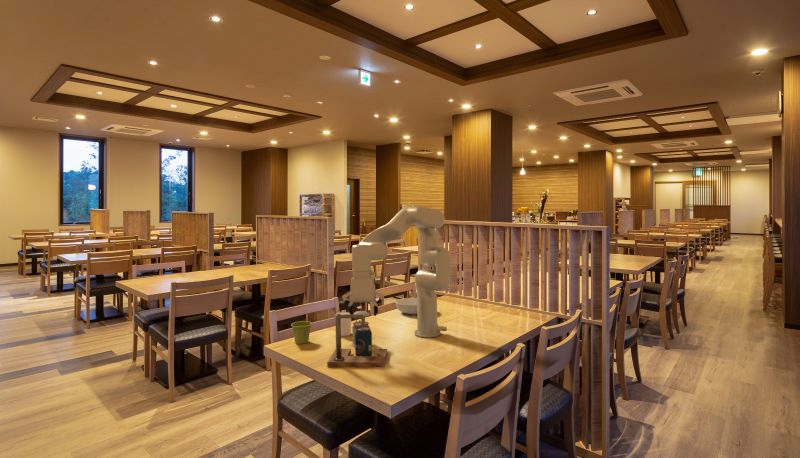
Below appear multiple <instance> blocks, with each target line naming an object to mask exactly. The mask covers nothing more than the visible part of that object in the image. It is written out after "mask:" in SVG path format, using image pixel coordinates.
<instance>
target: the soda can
mask: <svg viewBox="0 0 800 458" xmlns="http://www.w3.org/2000/svg"><path fill="white" fill-rule="evenodd" d="M354 350H355V351H354V353H355V355H354V356H373V332H372V329H371V327H370V328H369V327H358V328H356V332H355V348H354Z"/></svg>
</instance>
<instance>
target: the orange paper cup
mask: <svg viewBox="0 0 800 458" xmlns="http://www.w3.org/2000/svg"><path fill="white" fill-rule="evenodd" d="M335 314H340V315H351V314H349V312H347V311H340V312H337V313H335ZM351 328H352V318H341V337H347V336H350V335H351V333H352V332H351V331H352V329H351Z"/></svg>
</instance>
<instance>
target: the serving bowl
mask: <svg viewBox="0 0 800 458" xmlns="http://www.w3.org/2000/svg"><path fill="white" fill-rule="evenodd" d="M395 307H396V308H397V310H398V311H399V312H400V313H404V314H407V315H414V316H415V315H416V316H417V297H403V298H400V299H399V298H398V299H397V300H395Z"/></svg>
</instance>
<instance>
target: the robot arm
mask: <svg viewBox="0 0 800 458" xmlns="http://www.w3.org/2000/svg"><path fill="white" fill-rule="evenodd" d="M445 220H446V218H445V215H444V213H443V212H442V211H441V210H439V209H435V208H431V207H427V206H426V207H425V206H420V205H418V206H415V205H413V206H412V205H410V206H405V207H402V208H401V209H400V211H398V212H397V213H396V214H395V215H394V216H393V217H392V218H391V219H390V221H389V222H387V223H386V224H383V225H382V226H380V227H378V228H376V229H374V230H373V231H371V232H370V233H368V234H367V235H366V236H365V237H364V238H363V239H362V240H361V241H360V242H359V243H357V244H354V245H352V247H351V264H352V267H351V268H352V277H351V278H350V289H349V290H350V291H348V292H346V293H344V294H343V295H342V296H341V298H342V300H343V301H344V303H345V304H346V306H347V307H348V311H349V314H351V315H354V310H355V309H354V305H353V304H354V303H360V302H361V303H372V305H373V316H374V317H376V316H377V315H378V313H379V305H380V304H381V303H382V301H383V299H384V297H385V294H383V293H381V292H380V291H377V290H376V284H375V279H374V276H373V275H376V273H375V271H373V270H372V265H371V264H372V263H371V262H372V261H382V260H384V259H386V258H387V257H388V254H389V248H388V246H387V245H386V244H385V243H389V242H392V241H397V240H398V239H401V237H402V236H404V234H405V233H406V232H407V231H408V230H409V229H410V228H411V227H412V226H414V227H415V228H416V229H417V231H418V233H419V236H420V243H419V244H420V245H419V246H420V247H419V263H420V264H421V265H422V266H424V267H425V266H426V267H430V268H431V267H432V268H436V269H429V268H422V269H419V270H418V271H417V272H416V273H415V274H414V284H415V288H416V298H417V314H416V316H417V329H416V330H414V333H413V334H414V336H416V337H420V338H424V339H425V338H428V339H429V338H436V337H439V336H440V335H441V332H447V330H448V328H447V326H444V325H439V324H438V297H437V296H438V295H437V294H436V293H437V292H445V291H446V290H447V289H449V286H450V283H451V274H452V270H451V269H452V255H451V252H450V250H449V249H448V248H445V247H440V246H439V235H438V232H437V230H436V229H440V228H441V227H444V224H445V222H446V221H445ZM376 296H377V297H378V300H377V299H376ZM348 297H349V299H350V301H349V300H348Z"/></svg>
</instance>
